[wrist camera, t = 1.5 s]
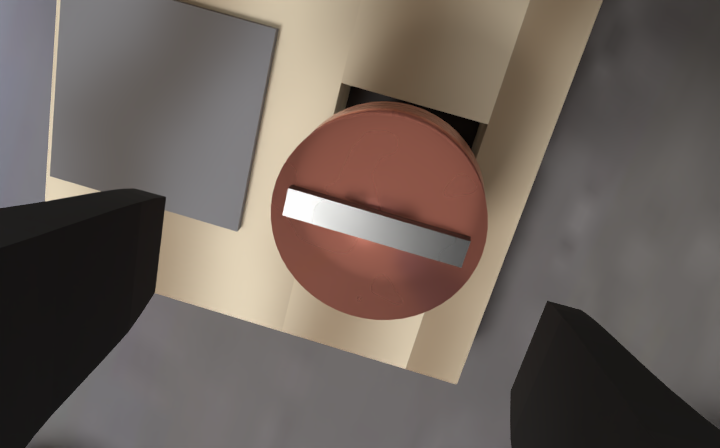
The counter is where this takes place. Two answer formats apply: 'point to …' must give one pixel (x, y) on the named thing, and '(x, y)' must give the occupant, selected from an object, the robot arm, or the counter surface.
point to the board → (299, 133)
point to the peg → (381, 211)
